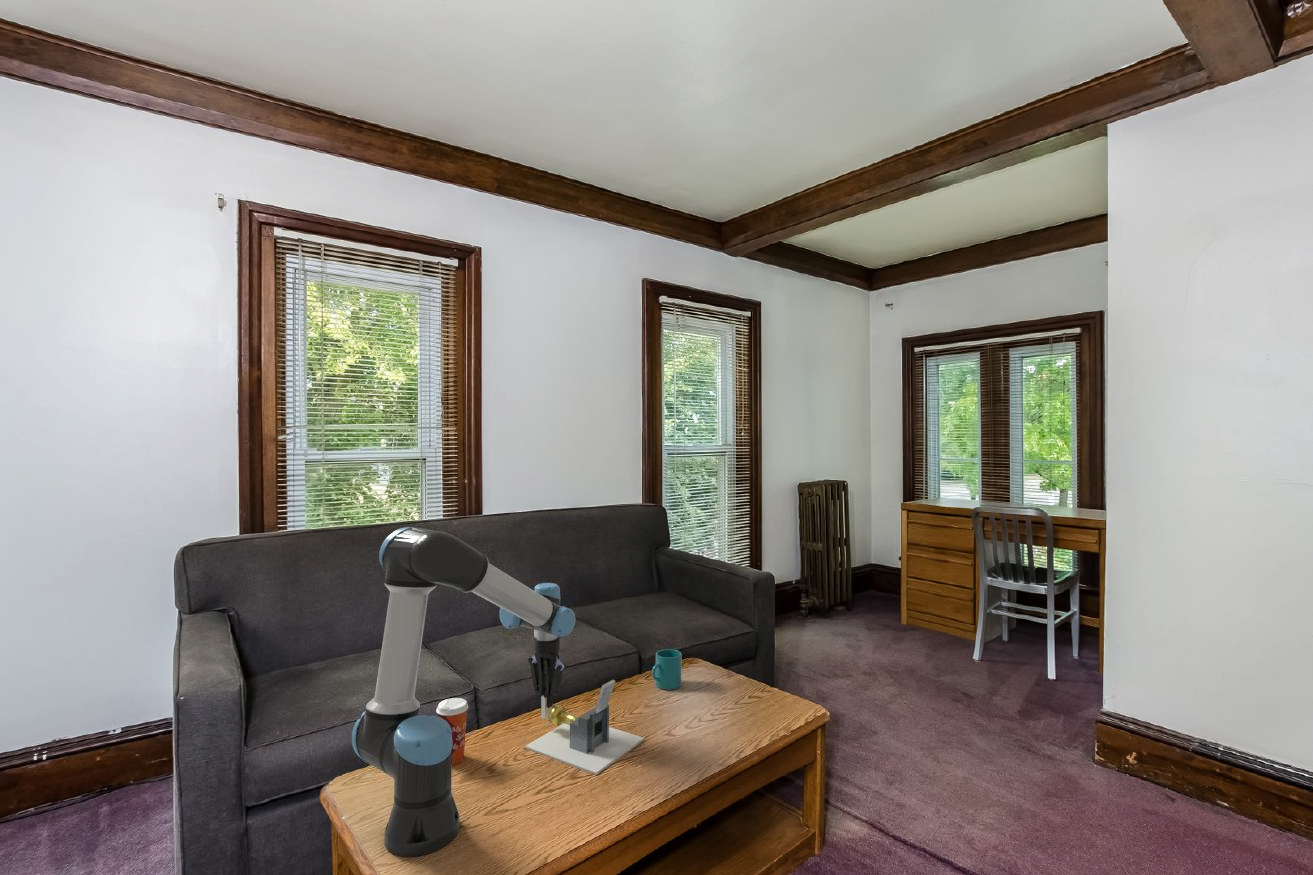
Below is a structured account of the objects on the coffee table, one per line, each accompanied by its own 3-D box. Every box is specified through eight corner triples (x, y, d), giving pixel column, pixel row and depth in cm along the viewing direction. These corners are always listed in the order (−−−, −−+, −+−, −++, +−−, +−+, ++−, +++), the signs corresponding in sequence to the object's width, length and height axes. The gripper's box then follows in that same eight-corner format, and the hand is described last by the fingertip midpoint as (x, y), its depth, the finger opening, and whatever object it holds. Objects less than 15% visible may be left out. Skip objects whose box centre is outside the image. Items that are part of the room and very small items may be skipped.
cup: (643, 686, 213) (644, 654, 213) (669, 678, 221) (669, 647, 221) (660, 695, 206) (660, 661, 206) (686, 686, 214) (686, 654, 214)
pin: (548, 726, 176) (548, 708, 176) (560, 719, 181) (560, 701, 181) (583, 738, 169) (583, 719, 169) (595, 731, 174) (595, 712, 174)
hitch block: (569, 747, 169) (569, 710, 169) (592, 733, 177) (592, 697, 177) (589, 754, 165) (589, 716, 165) (611, 739, 174) (611, 703, 174)
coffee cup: (458, 769, 159) (458, 711, 159) (429, 765, 160) (429, 708, 160) (474, 753, 167) (474, 698, 167) (446, 749, 169) (447, 695, 169)
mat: (596, 774, 156) (596, 772, 156) (525, 748, 170) (525, 745, 170) (643, 739, 175) (643, 737, 175) (576, 718, 188) (576, 716, 188)
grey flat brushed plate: (593, 712, 168) (602, 685, 166) (604, 705, 172) (613, 679, 170) (595, 713, 167) (604, 687, 166) (606, 707, 172) (615, 681, 170)
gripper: (572, 637, 180) (571, 717, 180) (539, 629, 187) (538, 707, 187) (555, 644, 174) (554, 727, 174) (521, 636, 181) (521, 716, 181)
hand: (546, 716), depth 180 cm, fingers closed
